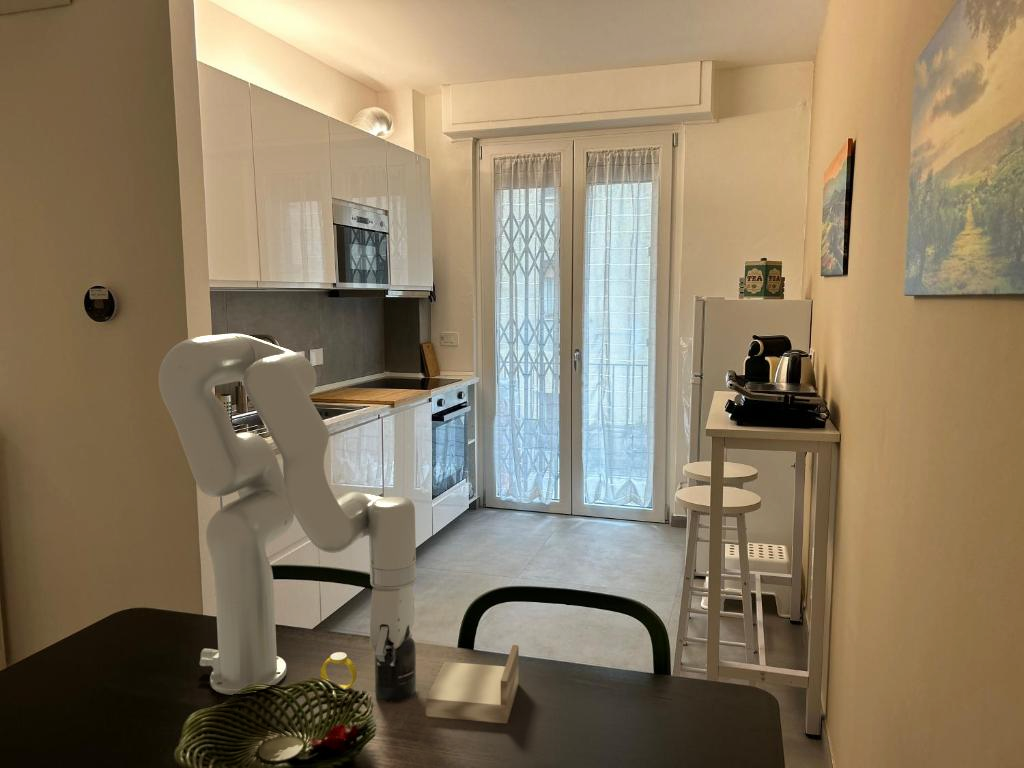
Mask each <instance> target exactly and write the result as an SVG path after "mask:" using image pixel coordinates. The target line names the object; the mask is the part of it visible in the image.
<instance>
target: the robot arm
mask: <svg viewBox="0 0 1024 768" xmlns="http://www.w3.org/2000/svg"><path fill="white" fill-rule="evenodd" d="M162 359H163V360H162V362H161V364H160V367H159V370H158V371H159V372H158V388H159V392H160V396H161V398H162V401H163V403H164V406H165V407H166V410H167V411H168V413H169V415H170V417H171V420H172V422H173V423H174V426H175V429H176V431H177V434H178V439H179V441H180V443H181V446H182V448H183V451H184V453H185V457H186V460H187V462H188V466H189V468H190V471H191V473H192V476H193V479H194V480H195V482H196V483H195V484H196V485H197V487H198V489H199V490H200V491H201V493H203V494H204V495H206V496H208V497H210V498H222V497H226V496H229V495H232V494H233V493H236V492H237V494H238V497H239V498H237V499H235V500H233V501H231V502H229V503H227V504H226V505H223V506H222V507H220V509H218V510H217V511H215V512H214V514H213V515H212V517H211V518H210V519H209V522H208V524H207V525H206V526H207V527H206V531H205V539H206V544H207V545H206V546H207V548H208V552H209V557H210V560H211V564H212V572H213V578H214V579H213V580H214V582H213V583H214V596H215V608H216V610H215V611H216V627H217V628H216V629H217V649H214V648H203V649H202V650H201V652H200V660H199V665H200V667H211V668H212V669H213V670H212V672H211V674H210V676H209V683H210V687H211V688H212V689H213V690H215V691H216V692H218V693H220V694H222V695H223V694H224V695H230V696H234V695H233V694H235V693H237V692H238V691H240V690H241V689H243V688H245V687H247V686H249V685H252V684H256V683H261V684H269V685H274V686H275V685H277V684H278V683H279V682H280V681H282V679H284V677H285V676H286V674H287V663H286V661H285V660H284V659H283V658H282V657H280V656H277V654H278V653H277V652H278V651H277V636H276V635H277V631H276V628H277V627H276V609H275V605H276V604H275V588H274V575H273V574H274V573H273V568H272V565H271V563H270V561H269V558H268V556H267V553H266V548H267V546H269V545H270V544H271V543H273V542H275V541H277V540H278V539H279V538H280V537H282V536H283V535H285V534H286V533H287V532H288V531H289V529H290V528H291V527H292V524H293V523H294V518H296V520H297V522H298V523H299V526H300V527H301V528H302V530H303V532H304V533H305V535H306V536H307V539H309V541H310V542H311V543H312V544H313V545H314V546H316V548H318V549H319V550H321V551H323V552H325V553H327V554H328V553H329V554H337V553H340V552H343V551H345V550H346V549H348V548H349V547H351V546H352V545H353V544H355V543H356V542H357V541H358V540H360V539H363V538H364V537H368V547H369V550H368V551H369V572H370V573H369V575H370V576H369V578H370V579H369V581H370V582H369V583H370V585H371V586H372V591H371V600H370V610H369V612H370V613H369V615H370V616H369V619H370V621H369V645H370V646H371V648H375V647H376V646H377V647H376V651H375V650H374V657H375V656H376V659H377V665H378V685H379V687H384V688H397V687H398V664H396V655H397V648H398V647H399V646H400V645H401V644H402V642H403V641H404V638H405V634H406V631H407V627H408V625H409V631H410V637H411V638H412V639H413V635H412V628H413V627H414V623H415V598H414V597H415V596H414V584H415V583H416V582H417V555H416V554H417V551H416V549H417V548H416V546H417V545H416V510H415V504H414V502H412V500H411V499H409V498H406V497H402V496H385V497H383V496H381V495H380V496H379V495H374V494H371V493H365V492H362V491H350V492H347V493H345V494H342V495H340V496H339V497H337V498H336V497H335V495H334V494H333V491H332V490H331V487H330V485H329V482H328V480H327V477H326V473H325V455H326V451H327V447H328V443H329V439H330V431H329V429H328V426H327V425H326V423H325V422H324V419H323V417H321V415H320V413H319V411H318V410H317V408H316V406H315V404H314V402H313V401H312V399H311V397H310V396H311V394H312V393H313V392H314V391H315V389H316V386H317V379H318V378H317V377H318V375H317V372H316V369H315V368H314V365H313V364H312V363H311V362H310V360H309V359H308V358H306V357H305V356H303V354H302V355H301V354H300V353H298V352H295V351H292V350H290V349H288V348H285V347H282V346H279V345H276V344H272V343H270V342H267V341H264V340H262V339H259V338H256V337H253V336H251V335H246V334H244V333H225V334H210V335H201V336H196V337H194V336H193V337H190V338H187V339H185V340H183V341H180V342H179V343H176V345H174V346H173V347H172V348H171V349H170V350H169V351H168V352H167V353H166V354H165V356H164V358H162ZM236 382H240V383H243V389H244V391H245V393H246V395H247V397H248V399H249V400H250V402H251V404H252V406H253V408H254V409H255V411H256V414H258V417H259V418H260V420H261V421H262V423H263V425H264V427H265V429H266V431H268V432H267V433H268V434H269V436H270V437H271V439H272V441H273V442H274V445H275V446H276V448H277V449H278V452H279V454H280V455H281V458H282V459H281V460H282V469H281V467H280V463H279V461H278V458H277V455H276V453H275V451H274V449H273V447H272V446H271V445H270V444H269V442H268V441H267V440H266V439H265V438H264V437H263V436H261V435H259V434H257V433H254V432H248V431H246V432H245V431H244V432H243V431H242V432H237V433H236V431H235V428H234V426H233V424H232V421H231V417H230V414H229V412H228V411H227V408H226V407H225V405H224V403H222V401H221V400H220V398H218V397H217V396H216V395H215V394H214V392H213V388H215V386H220V385H226V384H231V383H236ZM388 641H391V642H394V644H393V645H387V642H388ZM386 649H392V653H391V657H390V655H389V654H386V653H387V652H386Z"/></svg>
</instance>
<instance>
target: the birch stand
mask: <svg viewBox="0 0 1024 768" xmlns="http://www.w3.org/2000/svg"><path fill="white" fill-rule="evenodd" d="M511 646H512V647H511V648H510V652H509V654H508V658H507V661H506V664H505V666H503V665H501V666H500V665H490V664H480V663H477V664H476V663H466V662H465V663H464V662H452V661H444V662H443V665H442V666H441V668H440V671H439V672H438V674H437V676H436V678H435V680H434V682H433V684H432V686H431V687H430V689H429V692H428V693H427V696H426V697H425V712H426V713H425V715H426V717H429V718H431V717H432V718H442V719H453V720H461V721H462V720H464V721H475V722H484V723H485V722H486V723H495V724H508V721H509V718H510V714H511V711H512V708H513V705H514V701H515V698H516V694H517V691H518V687H519V679H520V678H519V677H520V676H519V675H520V674H519V671H520V670H519V669H520V668H519V660H520V659H519V652H520V651H519V649H520V648H519V645H517V644H512V645H511Z"/></svg>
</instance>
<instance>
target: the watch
mask: <svg viewBox="0 0 1024 768" xmlns="http://www.w3.org/2000/svg"><path fill="white" fill-rule="evenodd" d="M329 663H333V664H344V665H345V666H347V669H349V671H350V675H351V676H350V677H351V680H350V683H349V684H347V685H346V684H339V685H340V686H341V687H343V688H345V689H348V690H349V689H351V687H352V686H353V685H354V684H355V682H356V679H357V667H356V666H355V664H354V662H353V661H352V660H351V659H349V658H348V655H347V653H345V652H341V651H338V652H333V653H332V654H330V656H329V657H328V658H327V659H326V660H325V661H324V662H323V664H322V666H321V667H320V678H321V679H322V678H323V679H328V680H330V679H329V677H328V673H327V665H328V664H329Z"/></svg>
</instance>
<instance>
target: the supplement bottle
mask: <svg viewBox="0 0 1024 768" xmlns="http://www.w3.org/2000/svg"><path fill="white" fill-rule="evenodd" d="M393 644H394V642H391V641H388V642H387V645H393ZM376 647H377V646H376ZM376 647H374V652H375V651H376ZM416 649H417V647H416V641H415V640H414V639H413V637H412V638H411V637H410V631H409V625H408V627H407V631H406V634H405V638H404V641H403V642H402V644H401V645H400V646H399V647H398V648H397V655H396V664H398V687H397V688H384V687H379V685H378V665H377V659H376V656H375V655H374V692H375V693H374V694H375V696H376V697H377V698H378V699H379V700H381V701H383V702H385V703H401V702H404V701H406V700H409V699H410V698H412V697H413V696H414V694H415V693H416V688H417V685H416V684H417V669H416V668H417V667H416V666H417V664H416V663H417V658H416V657H417V655H416V654H417V653H416V652H417V650H416ZM386 652H387V653H386V654H389V655H390V657H391V653H392V649H386Z"/></svg>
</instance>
